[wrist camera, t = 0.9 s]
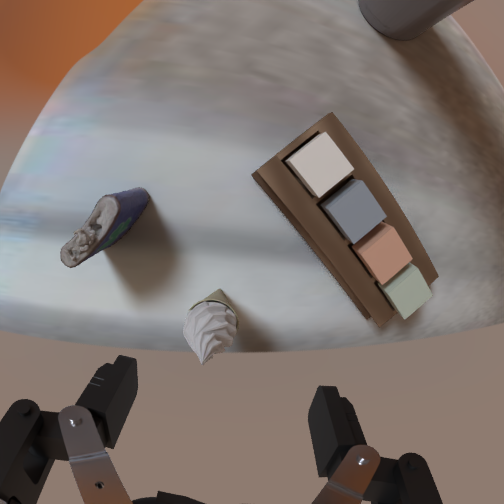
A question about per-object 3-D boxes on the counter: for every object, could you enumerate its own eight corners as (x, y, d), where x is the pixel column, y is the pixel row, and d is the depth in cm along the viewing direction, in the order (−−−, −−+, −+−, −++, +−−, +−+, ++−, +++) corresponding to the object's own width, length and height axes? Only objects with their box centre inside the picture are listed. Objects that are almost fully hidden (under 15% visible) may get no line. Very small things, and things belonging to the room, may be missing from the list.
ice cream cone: (228, 263, 36) (215, 328, 21) (247, 299, 37) (247, 379, 22) (190, 280, 36) (157, 351, 22) (211, 315, 37) (192, 397, 23)
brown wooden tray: (327, 114, 31) (337, 108, 27) (427, 262, 36) (442, 272, 32) (251, 174, 33) (251, 175, 29) (364, 315, 38) (374, 330, 34)
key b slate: (352, 179, 29) (362, 180, 26) (374, 211, 30) (386, 216, 27) (320, 204, 30) (327, 209, 27) (344, 236, 31) (353, 244, 28)
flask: (140, 182, 33) (97, 191, 23) (156, 200, 34) (120, 216, 23) (93, 236, 35) (45, 263, 24) (108, 253, 35) (64, 285, 25)
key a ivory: (318, 134, 28) (325, 131, 25) (344, 168, 29) (354, 169, 26) (285, 161, 29) (289, 160, 26) (312, 194, 30) (319, 197, 27)
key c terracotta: (381, 221, 30) (393, 227, 27) (400, 250, 31) (412, 258, 28) (351, 246, 31) (361, 254, 28) (371, 275, 32) (382, 285, 29)
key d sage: (405, 259, 31) (417, 268, 29) (420, 285, 32) (432, 295, 29) (377, 283, 32) (388, 294, 29) (394, 308, 33) (404, 319, 30)
